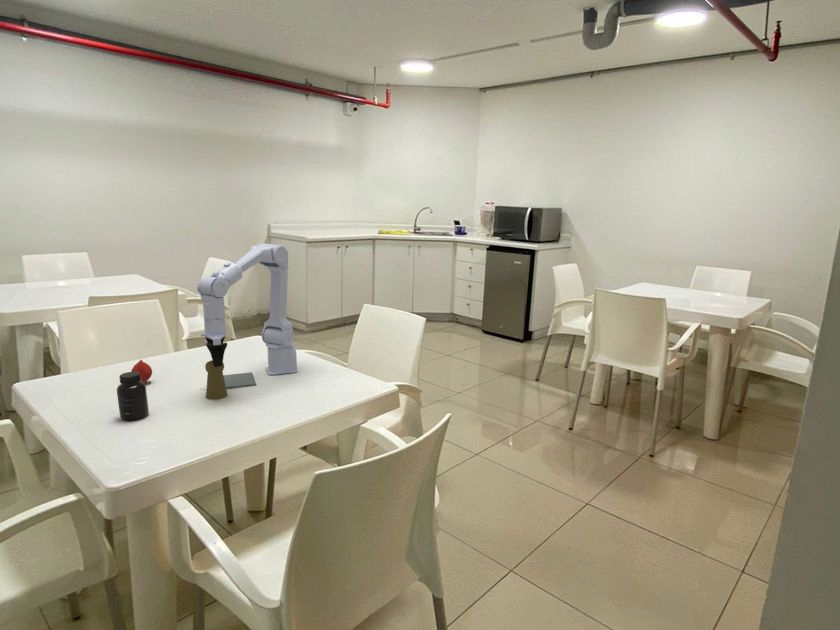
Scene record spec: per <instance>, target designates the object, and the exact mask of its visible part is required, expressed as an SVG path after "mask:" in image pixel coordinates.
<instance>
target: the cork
mask: <svg viewBox="0 0 840 630" xmlns="http://www.w3.org/2000/svg"><path fill="white" fill-rule="evenodd" d="M204 367H205V371H206V373H207V378H206V392H205V398H206V399H207V400H211V401H212V400H213V401H214V400H215V401H216V400H221V399H225V398H227V397H228V392H227V391H228V390H227V389H226V386H225V381H224V376H223V375H224V373H223V372H224V369H225V363H224V362H223V364H222V366H219V367H214V364H213V361H212V359H211V360H209V361H207V362H206V363H205V366H204Z"/></svg>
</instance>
